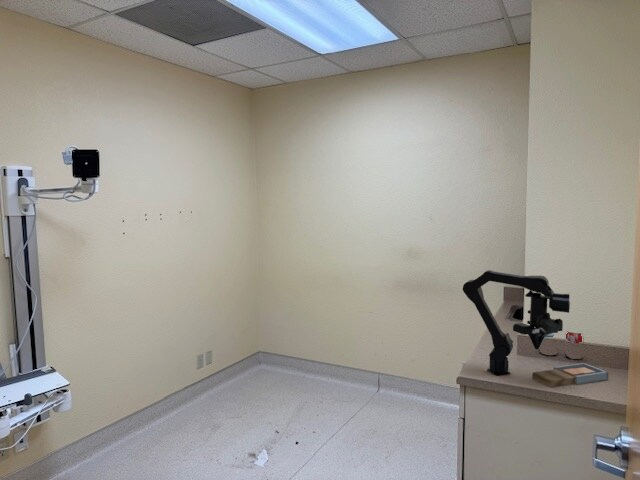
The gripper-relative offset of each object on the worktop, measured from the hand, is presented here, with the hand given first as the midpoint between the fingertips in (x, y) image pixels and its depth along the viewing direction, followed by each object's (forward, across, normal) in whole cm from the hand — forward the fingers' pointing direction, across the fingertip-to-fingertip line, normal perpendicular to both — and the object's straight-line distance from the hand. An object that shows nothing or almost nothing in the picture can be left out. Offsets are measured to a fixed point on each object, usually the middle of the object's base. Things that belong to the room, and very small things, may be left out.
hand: (536, 349), depth 169 cm
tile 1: (+11, +14, -4) cm, 18 cm away
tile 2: (+11, +19, -5) cm, 23 cm away
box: (+11, +17, -4) cm, 21 cm away
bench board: (+12, +4, -4) cm, 13 cm away
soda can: (+12, +33, +13) cm, 38 cm away
